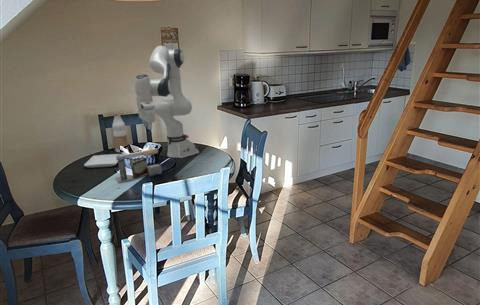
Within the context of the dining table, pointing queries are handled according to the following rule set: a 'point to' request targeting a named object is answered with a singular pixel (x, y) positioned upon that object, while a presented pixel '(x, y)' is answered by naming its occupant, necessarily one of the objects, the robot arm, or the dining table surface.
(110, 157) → the salad plate
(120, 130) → the fruit juice
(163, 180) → the dining table surface
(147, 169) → the block
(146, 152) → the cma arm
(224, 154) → the dining table surface
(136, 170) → the food container
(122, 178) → the rack post
